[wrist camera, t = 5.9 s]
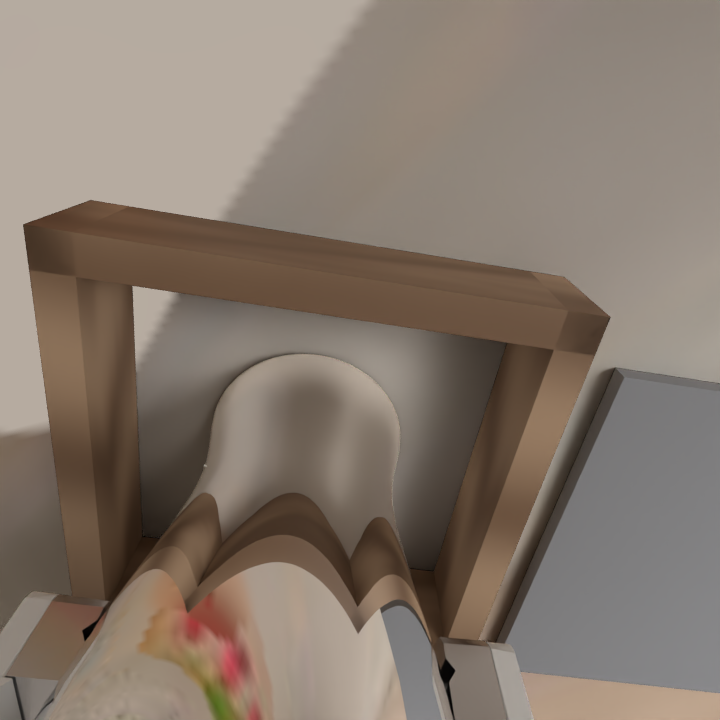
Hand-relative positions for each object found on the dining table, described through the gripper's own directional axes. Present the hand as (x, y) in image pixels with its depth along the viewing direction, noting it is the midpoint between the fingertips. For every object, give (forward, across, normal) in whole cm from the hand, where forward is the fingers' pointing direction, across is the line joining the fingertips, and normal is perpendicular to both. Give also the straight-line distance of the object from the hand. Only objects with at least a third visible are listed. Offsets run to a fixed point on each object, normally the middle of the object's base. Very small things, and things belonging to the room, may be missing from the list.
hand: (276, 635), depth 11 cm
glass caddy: (+7, 0, +6) cm, 9 cm away
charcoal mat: (+7, -15, +3) cm, 17 cm away
